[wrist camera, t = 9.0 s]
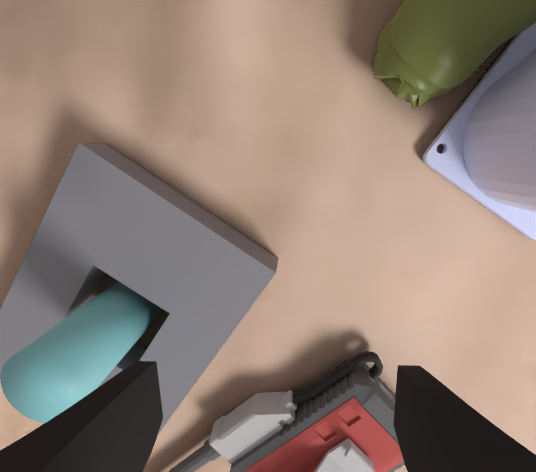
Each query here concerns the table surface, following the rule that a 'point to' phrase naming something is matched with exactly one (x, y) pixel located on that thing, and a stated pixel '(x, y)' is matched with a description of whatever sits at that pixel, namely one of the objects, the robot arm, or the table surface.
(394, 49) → the pear
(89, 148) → the socket board
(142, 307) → the peg
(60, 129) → the table surface
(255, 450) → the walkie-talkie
